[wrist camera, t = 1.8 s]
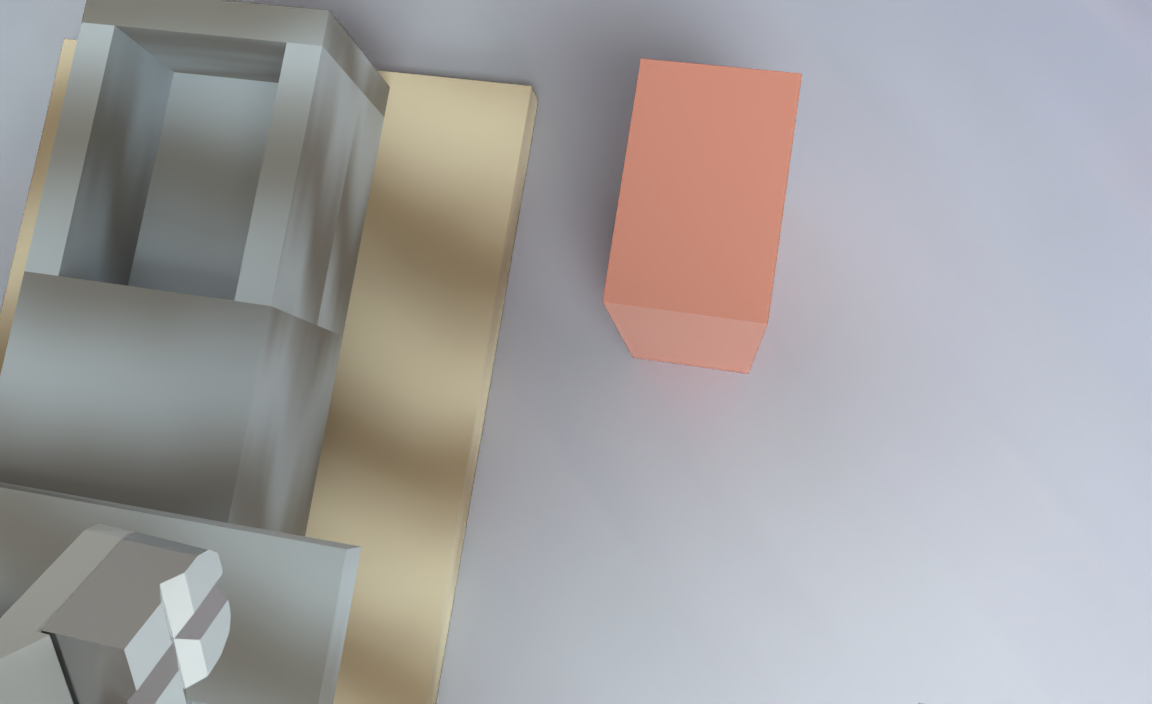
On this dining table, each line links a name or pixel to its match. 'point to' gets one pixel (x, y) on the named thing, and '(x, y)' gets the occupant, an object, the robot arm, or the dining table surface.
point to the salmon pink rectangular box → (701, 212)
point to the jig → (262, 331)
